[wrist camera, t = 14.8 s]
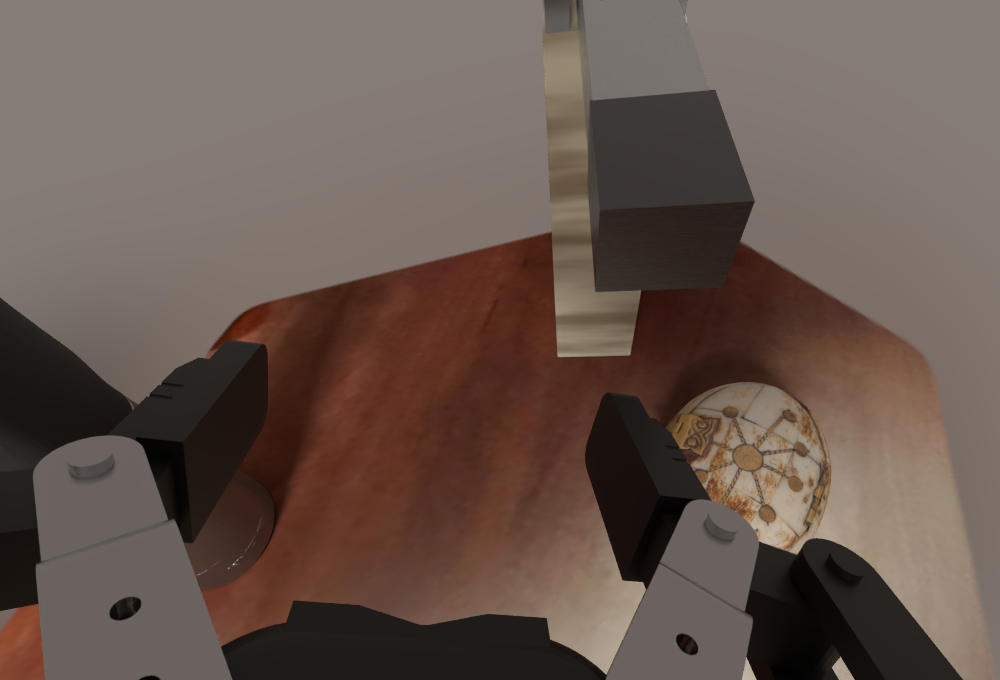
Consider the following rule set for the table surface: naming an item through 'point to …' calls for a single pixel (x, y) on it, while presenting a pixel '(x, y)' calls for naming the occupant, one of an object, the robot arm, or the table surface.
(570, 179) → the birch stand
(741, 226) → the dark brushed block
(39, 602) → the robot arm
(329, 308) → the table surface
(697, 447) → the trinket box
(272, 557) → the table surface
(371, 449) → the table surface
